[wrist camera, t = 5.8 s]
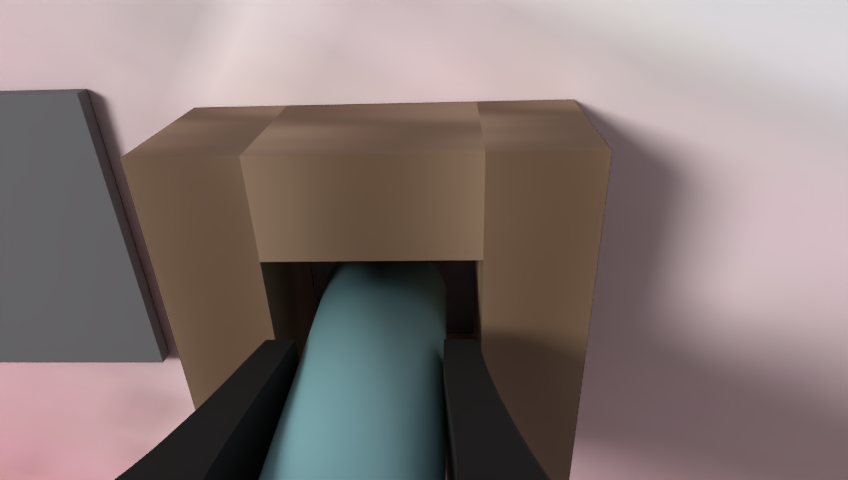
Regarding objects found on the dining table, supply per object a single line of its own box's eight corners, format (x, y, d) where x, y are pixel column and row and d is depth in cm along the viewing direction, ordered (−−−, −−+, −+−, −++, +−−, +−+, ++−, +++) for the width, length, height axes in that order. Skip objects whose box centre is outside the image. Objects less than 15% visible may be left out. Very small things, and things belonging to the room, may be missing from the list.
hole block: (258, 391, 18) (218, 486, 15) (194, 107, 14) (119, 158, 11) (546, 392, 17) (567, 490, 14) (573, 99, 13) (612, 149, 10)
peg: (333, 344, 15) (204, 806, 7) (319, 244, 14) (137, 682, 6) (446, 343, 15) (446, 816, 7) (445, 243, 13) (441, 690, 5)
